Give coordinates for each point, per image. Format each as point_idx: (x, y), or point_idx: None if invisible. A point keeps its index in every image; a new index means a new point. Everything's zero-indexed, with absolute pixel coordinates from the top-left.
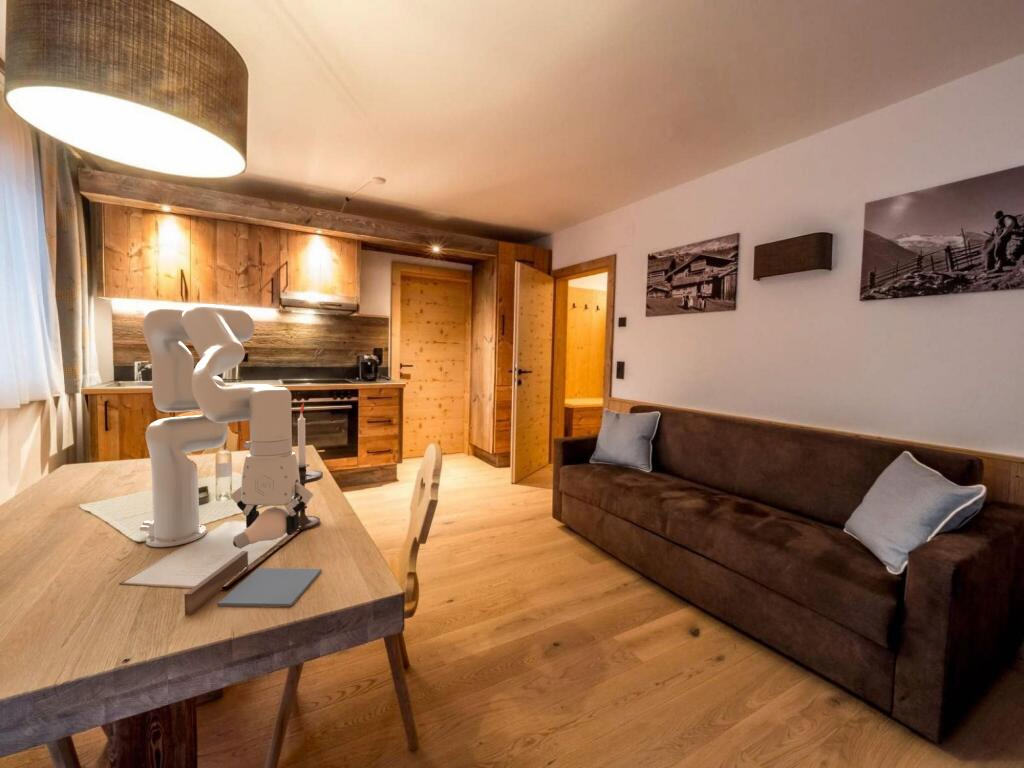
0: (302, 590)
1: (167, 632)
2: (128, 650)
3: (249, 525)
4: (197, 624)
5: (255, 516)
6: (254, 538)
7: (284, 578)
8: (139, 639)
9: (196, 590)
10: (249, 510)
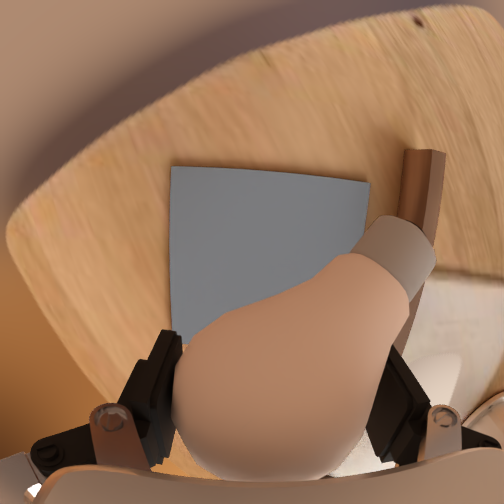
0: (169, 234)
1: (411, 89)
2: (436, 50)
3: (396, 365)
4: (371, 106)
5: (386, 424)
6: (330, 265)
7: (248, 301)
8: (442, 79)
9: (429, 171)
10: (432, 432)
